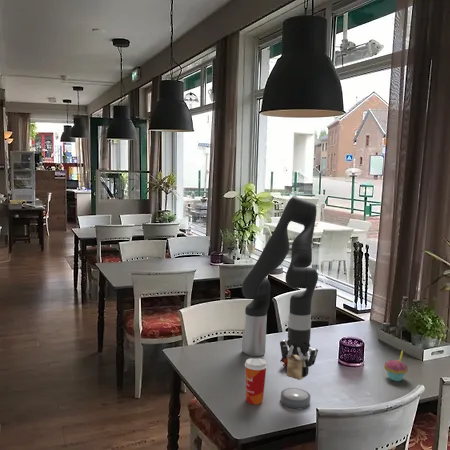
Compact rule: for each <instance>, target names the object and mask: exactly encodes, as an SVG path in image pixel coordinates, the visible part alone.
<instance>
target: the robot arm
mask: <svg viewBox="0 0 450 450" xmlns="http://www.w3.org/2000/svg"><path fill="white" fill-rule="evenodd" d="M316 218H317V206H316V204H315V203H314V202H312V201H309V200H307V199H303V198H301V197H299V196H292V197H291V198H289V200H288V201H287V203H286V205H285V206H284V209H283V211H282V214H281V216H280V218H279V220H278V223H277V225H276V226H275V229H274V231H273V232H272V234H271V236H270V237H269V238H268V240H267V243H266V244H265V246H264V248H263V250H262V252H261V254H260V256H259V257H258V259H257V260H256V262H255V263H254V266H253V267H252V269H251V270H250V272H248V274H247V276H246V277H245V279H244V280H243V282H242V285H241V292H242V295H243V297H244V298H246V299H248V300H252V301H251V302H250V303H249V304H248V305H246V306H245V313H244V314H245V315H244V328H243V330H242V339H241V340H242V341H241V342H242V344H241V352H243V353H244V354H245V355H247V356H250V357H251V356H252V357H261V356H263V355H265V354H266V347H267V346H266V342H267V318H268V317H267V316H268V310H269V307H270V298H271V283H270V280H269V279H268V276H269V275H270V274H271V273H273V272H274V271H275V270H277V268H279V267H280V266H281V265H282V264H283V262H284V261H285V259H286V258H287V256H288V254H289V253H290V247H291V254H290V255H291V259H290V264H289V265H288V269H287V271H286V274H285V283H286V286H288V287H289V288H291V289H305V291H303V292H302V293H301V292H300V293H296V294H292V295H291V296H290V298H289V314H288V320H287V321H288V322H287V324H288V325H287V340H286V339H284V340H280V341H279V347H280V351H281V359H282V358H283V359H284V358H285V359H286V361H287V364H288V359H289V358H291V357H292V356H294V355H298V356H300V360H301V361H302V362H303V363H302V364H303V367H302V377H304V378H306V377H307V376H308V375H309V368H310V367H312V366H314V365H315V363H316V359H317V357H318V356H317V355H318V353H319V349H318V348H313V347H311V344H310V343H311V342H310V341H311V329H312V318H311V317H312V315H311V314H312V313H311V311H312V301H313V295H314V292H315V289H316V286H317V283H318V280H319V274H318V271H317V270H316V268H314V267H310V266H311V265H312V262H313V248H312V247H313V238H314V237H313V236H314V230H315V227H316V226H315V225H316V220H317V219H316ZM290 222H293V223H295V224H299V225H301V226H302V225H303V230H302V231H301V232H300V233H299V234H297V236H296V237H295V238H294V240H293V241H292V244H290V240H289V234H288V228H289V227H288V226H289V224H290ZM290 245H291V246H290ZM289 349H290V350H289ZM288 351H289V352H288ZM303 355H304V356H303ZM305 360H306V361H305Z"/></svg>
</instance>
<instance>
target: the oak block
mask: <svg viewBox="0 0 450 450" xmlns="http://www.w3.org/2000/svg"><path fill="white" fill-rule="evenodd" d="M305 361H306V360H305ZM302 363H303V362H302V361H301V360H300V356H298V355H294V356H292V357H291V358H289V359H288V364H287V367H286V376H287V377H290V378H292V379H295V380H298V381H301V380H303V379H304V378H305V377H302V367H303V364H302Z"/></svg>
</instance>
